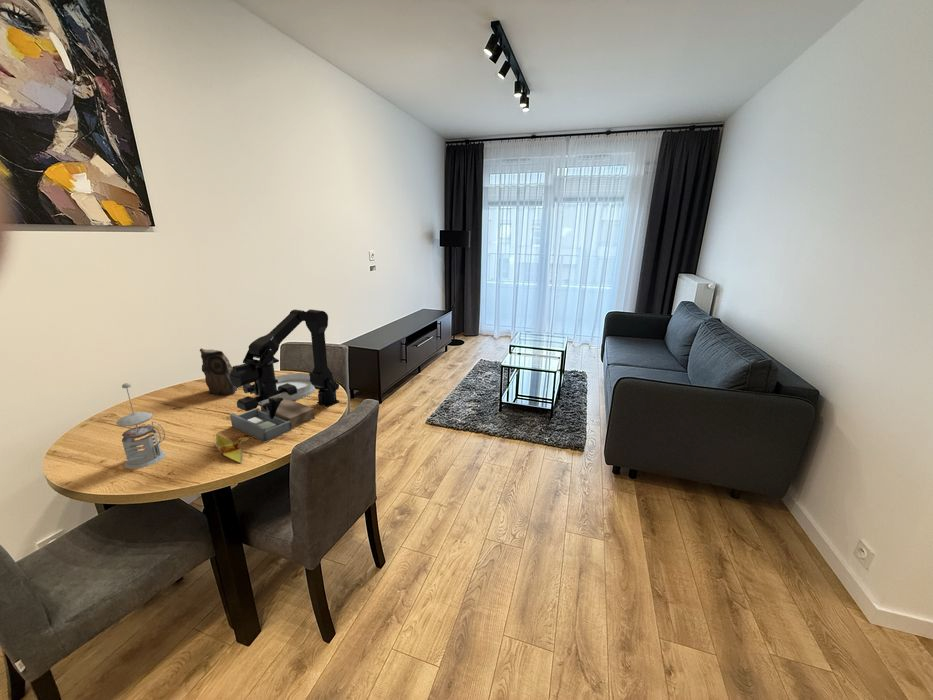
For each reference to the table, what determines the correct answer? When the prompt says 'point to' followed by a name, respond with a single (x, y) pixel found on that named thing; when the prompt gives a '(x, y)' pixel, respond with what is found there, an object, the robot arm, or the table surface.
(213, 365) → the owl
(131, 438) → the french press
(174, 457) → the table surface
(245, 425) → the box
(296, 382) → the dish
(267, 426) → the sage tile
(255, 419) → the cream tile
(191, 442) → the table surface
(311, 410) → the taupe pedestal platform
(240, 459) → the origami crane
